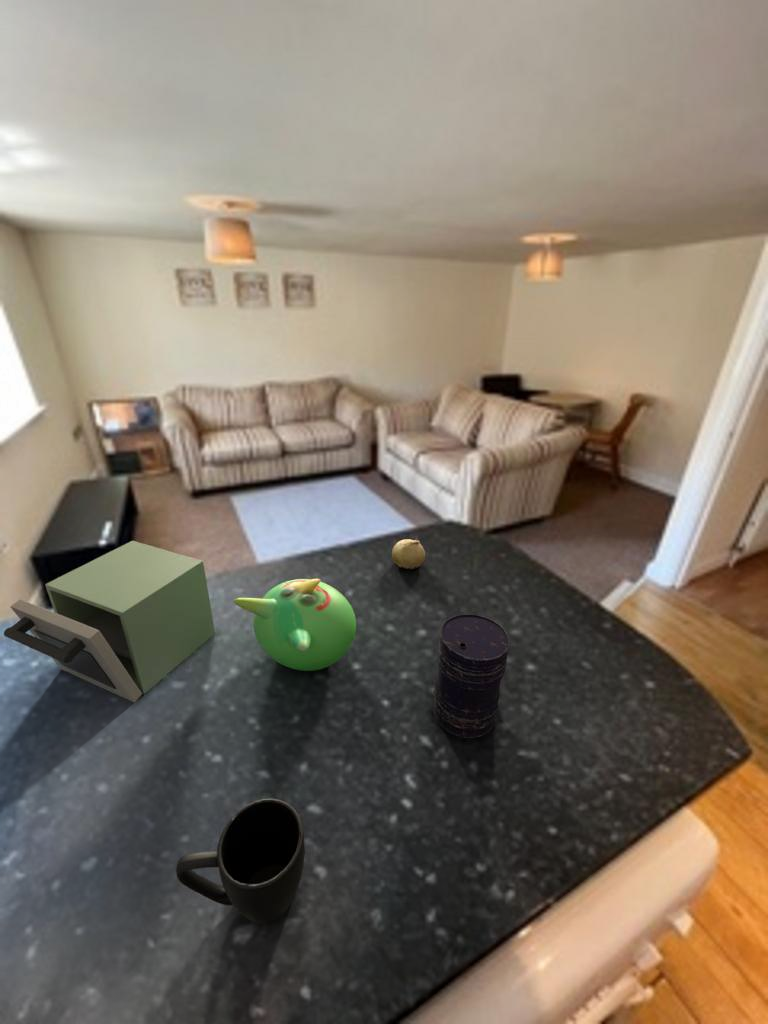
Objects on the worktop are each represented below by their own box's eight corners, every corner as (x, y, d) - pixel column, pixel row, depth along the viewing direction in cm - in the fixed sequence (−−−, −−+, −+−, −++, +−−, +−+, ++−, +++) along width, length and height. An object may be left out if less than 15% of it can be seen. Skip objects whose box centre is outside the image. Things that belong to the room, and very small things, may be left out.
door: (117, 721, 67) (67, 658, 58) (43, 685, 73) (-13, 622, 64) (142, 694, 71) (99, 630, 61) (69, 661, 77) (20, 598, 67)
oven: (144, 694, 71) (122, 612, 64) (71, 662, 77) (44, 584, 70) (215, 633, 85) (203, 560, 78) (149, 609, 90) (132, 540, 84)
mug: (197, 864, 50) (183, 811, 46) (306, 843, 52) (302, 791, 48) (182, 960, 43) (164, 907, 39) (309, 932, 45) (304, 879, 41)
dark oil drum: (458, 677, 76) (467, 605, 70) (508, 711, 70) (523, 636, 64) (419, 709, 70) (425, 634, 64) (471, 751, 64) (483, 672, 57)
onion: (406, 577, 104) (408, 550, 101) (384, 563, 109) (385, 537, 106) (431, 566, 109) (433, 540, 106) (408, 553, 114) (410, 528, 111)
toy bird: (373, 648, 82) (374, 581, 76) (310, 711, 69) (306, 636, 63) (300, 613, 91) (296, 550, 85) (233, 662, 78) (222, 592, 72)
